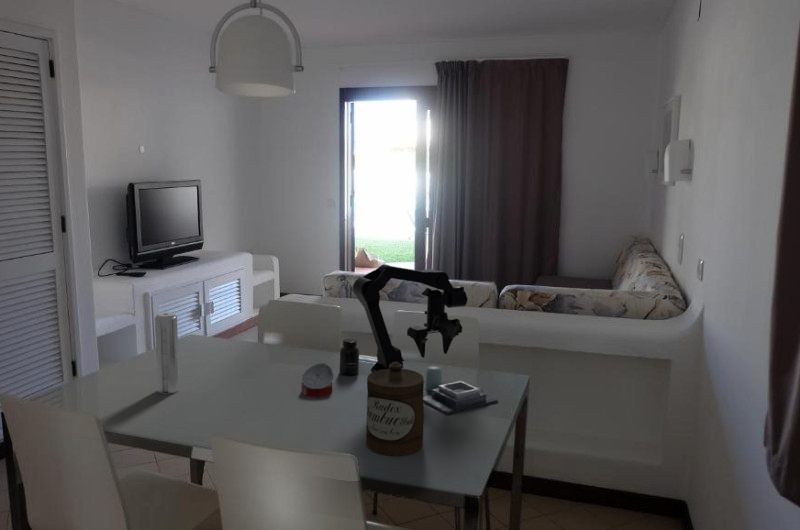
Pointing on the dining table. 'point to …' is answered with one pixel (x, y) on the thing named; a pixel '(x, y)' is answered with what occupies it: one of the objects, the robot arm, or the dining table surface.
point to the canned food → (317, 381)
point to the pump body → (433, 377)
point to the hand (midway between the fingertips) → (434, 355)
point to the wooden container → (395, 411)
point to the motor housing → (457, 397)
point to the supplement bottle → (349, 358)
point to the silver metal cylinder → (167, 353)
